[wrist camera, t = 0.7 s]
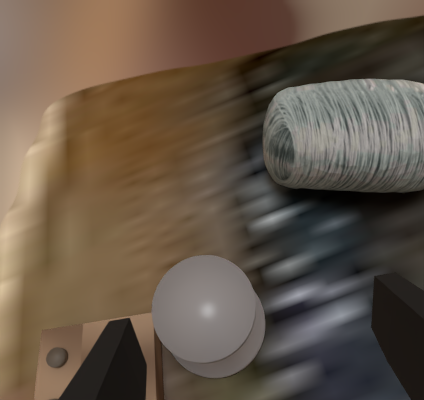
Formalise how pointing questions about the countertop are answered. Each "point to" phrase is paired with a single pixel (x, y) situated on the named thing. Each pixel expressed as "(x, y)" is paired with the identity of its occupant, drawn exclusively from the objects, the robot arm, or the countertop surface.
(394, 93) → the spool
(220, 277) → the door knob
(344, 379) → the countertop surface
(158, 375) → the terminal board
